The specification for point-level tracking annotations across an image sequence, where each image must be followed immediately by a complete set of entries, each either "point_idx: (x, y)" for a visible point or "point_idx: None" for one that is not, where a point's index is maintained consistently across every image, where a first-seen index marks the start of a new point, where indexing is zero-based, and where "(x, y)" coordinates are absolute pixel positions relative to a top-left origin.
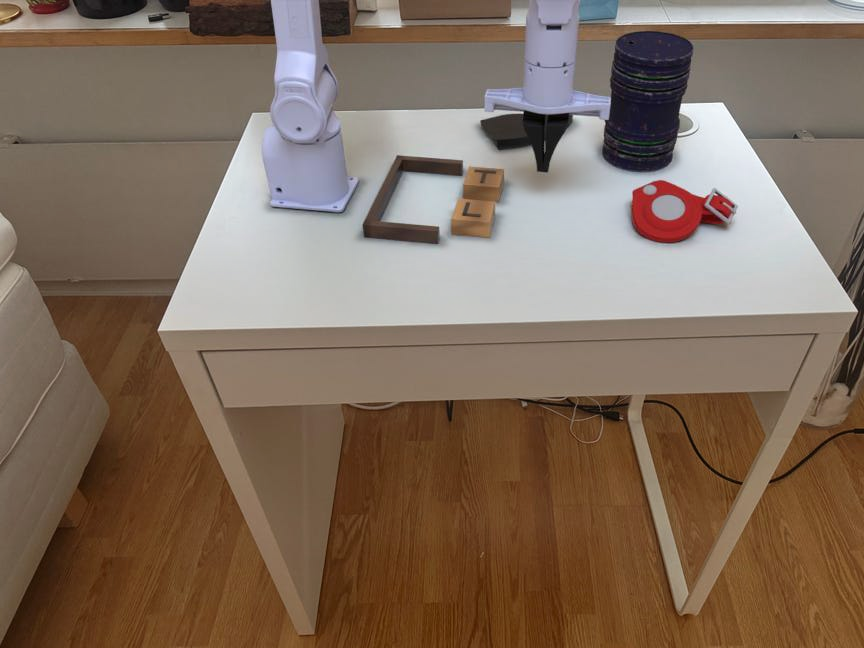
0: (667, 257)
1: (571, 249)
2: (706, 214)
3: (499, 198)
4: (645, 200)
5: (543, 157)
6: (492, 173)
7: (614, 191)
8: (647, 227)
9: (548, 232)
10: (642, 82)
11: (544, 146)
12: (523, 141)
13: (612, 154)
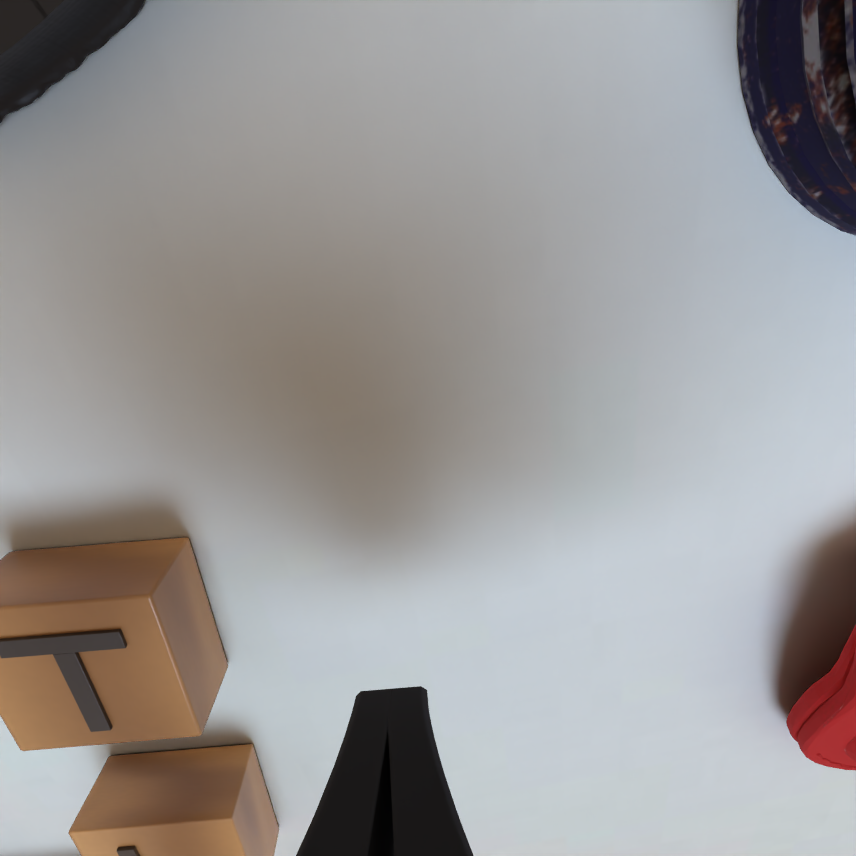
0: (850, 789)
1: (551, 817)
2: None
3: (222, 664)
4: None
5: (391, 802)
6: (109, 646)
7: (745, 475)
8: (838, 762)
9: (467, 769)
10: None
11: (377, 791)
12: (84, 4)
13: (833, 162)
